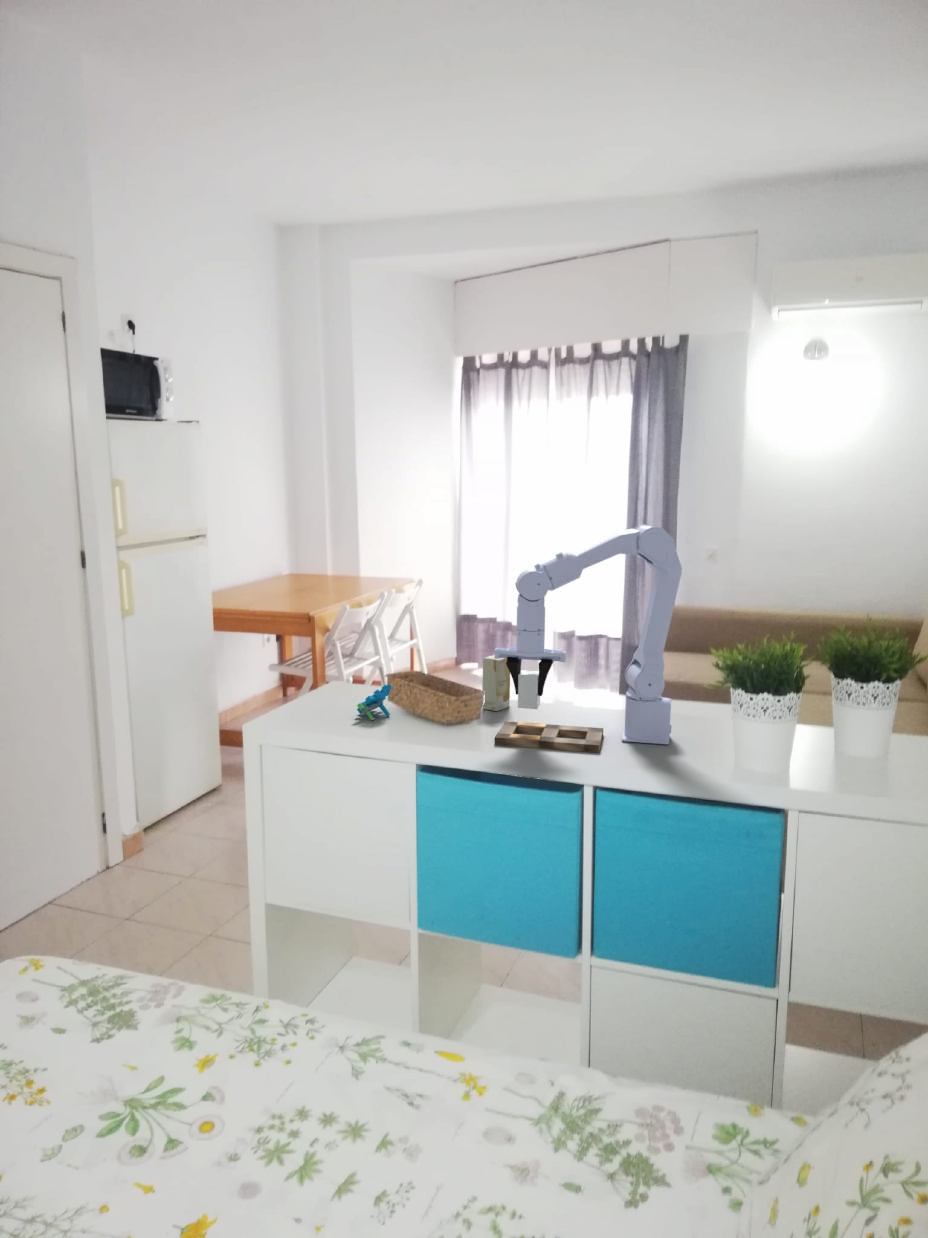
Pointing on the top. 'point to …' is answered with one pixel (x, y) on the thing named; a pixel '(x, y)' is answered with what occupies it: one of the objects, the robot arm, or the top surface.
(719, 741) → the top surface
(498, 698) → the skincare box
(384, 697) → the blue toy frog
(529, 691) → the steel block
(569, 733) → the socket plate
